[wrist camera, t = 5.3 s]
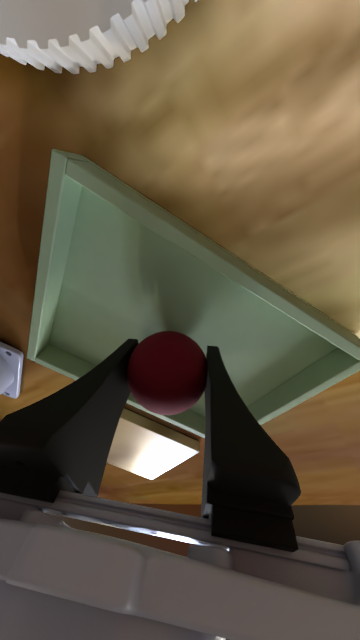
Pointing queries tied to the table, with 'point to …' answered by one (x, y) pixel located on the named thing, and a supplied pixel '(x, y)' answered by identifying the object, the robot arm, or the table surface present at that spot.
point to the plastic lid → (82, 30)
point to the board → (148, 446)
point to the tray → (169, 297)
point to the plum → (167, 373)
